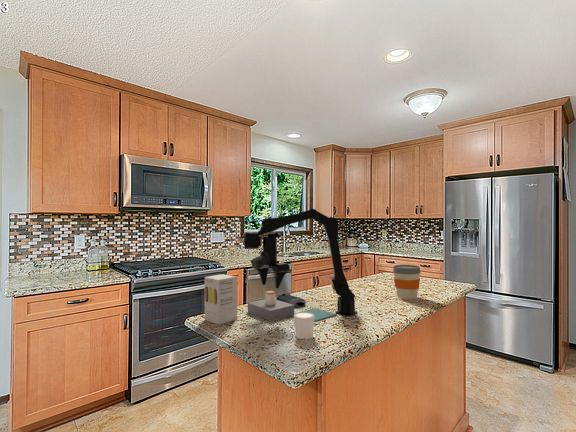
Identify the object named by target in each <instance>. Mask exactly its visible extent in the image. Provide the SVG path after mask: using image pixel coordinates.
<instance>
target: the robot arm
mask: <svg viewBox="0 0 576 432" xmlns="http://www.w3.org/2000/svg"><path fill="white" fill-rule="evenodd" d="M311 219H312V220H314V221H316V222H318V223H319V224H321V225H322V226H323V229H324V233H325V234H326V236H327V240H328V244H329V245H328V246H329V251H330V255H331V256H330V257H331V262H332V263H331V264H332V268H333V276H331V277H330V280H331V289H332V291H334V292H335V294H337V295H338V296H339V297H338V296H337V305H336V306H337V310H336V311H335V314H337V315H338V314H339V315H342V316H345V317H349V316H353V315H356V314H358V311H356V305H355V303H356V300H355V298H356V297H355V296H356V295H355V294H354V292H353V290H352V289H350V286H349V283H348V281H347V277H346V276H345V273H344V272H345V271H344V269H343V262H342V256H341V251H340V249H341V248H340V244H339V221H338V219H337V218H335V217H332V216H327V215H326V214H323V213H322V212H320V211H318V210H317V209H315V208H310V209H309V210H304V211H302V212H300V211H299V212H298V213H295V214H290V215H286V216H282V217H271V218H268V217H267V218H265V219H264V220H263V221H262V224H261V228H260V229H259V230H258V232H244V233H245V236H244V240H243V243H244V244H243V245H244V249H245V250H258V249H260V247H262V251H260V253H259V254H260V255H258V256H256V257H254V258H252V259H251V260H250V265H251V268H252V269H254V271H256V272H257V273H258V275H259V279H260V281H261V283H262V286H264V285H265V286H266V283H267V279H268V272H269V268H270V269H271V270H272V272H271V273H272V274H273V275H274V283H275V284H274V285H275V289H279V287H280V286H281V283H282V282H283V279H284V278H285V275H286V274H287V273H288V272H289V271H290V268H291V267H290V265H289V263H287V262H286V263H285V262H280V261H279V260H278V254H279V253H280V251H279V250H278V247H277V245H278V244H277V243H278V241H277V240H278V239H279V238H281V237H282V235H281V234H279V232H278V231H277V230H280V229H281V228H283V227H285V226H289V225H292V224H296V223H300V222H304V221H307V220H311ZM272 232H275V233H272ZM266 234H267V235H266ZM263 235H266V236H263Z"/></svg>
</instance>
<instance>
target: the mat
mask: <svg viewBox="0 0 576 432" xmlns="http://www.w3.org/2000/svg"><path fill="white" fill-rule="evenodd" d="M301 312H307V313H312V314H314V323H317V322H319V321H323V320H325V319H328V318H329V319H330V318H333V317H335V316H337V313H336V312H335V313H334V312H330V311H327V310H324V309H320V308H317V307H314V308H310V309H307V310H302V311H299V312H294V314H296V313H301Z"/></svg>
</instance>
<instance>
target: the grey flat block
mask: <svg viewBox="0 0 576 432" xmlns="http://www.w3.org/2000/svg"><path fill="white" fill-rule="evenodd" d="M247 313H249V314H250V315H253V316H256V317H259V318H261V319H264V320H267V321H269V322H272V321H277V320H281V319H283V318H287V317H291V316H294V314H295V307H294V305H293V304H289V303H286V302H283V301H279V300H276V304H274V305H270V306H269V305H266V304H265V298H263V299H259V300H255V301H250V302H247Z"/></svg>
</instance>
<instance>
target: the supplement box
mask: <svg viewBox="0 0 576 432" xmlns="http://www.w3.org/2000/svg"><path fill="white" fill-rule="evenodd" d="M237 319H238V276H234V275H228V274H223V273H222V274H214V275H210V276H205V277H204V321H207V322H210V323H213V324H216V325H222V324H225V323H226V324H227V323H228V322H231V321H235V320H237Z"/></svg>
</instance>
